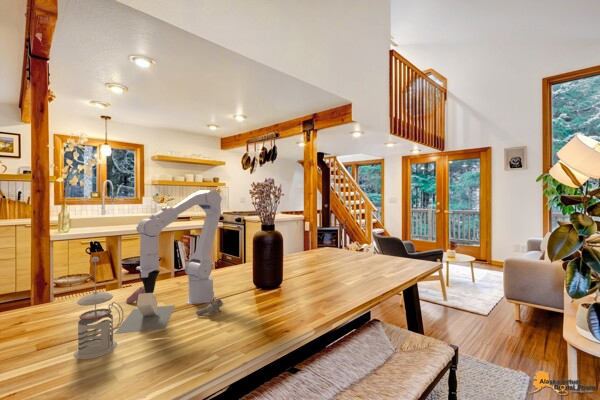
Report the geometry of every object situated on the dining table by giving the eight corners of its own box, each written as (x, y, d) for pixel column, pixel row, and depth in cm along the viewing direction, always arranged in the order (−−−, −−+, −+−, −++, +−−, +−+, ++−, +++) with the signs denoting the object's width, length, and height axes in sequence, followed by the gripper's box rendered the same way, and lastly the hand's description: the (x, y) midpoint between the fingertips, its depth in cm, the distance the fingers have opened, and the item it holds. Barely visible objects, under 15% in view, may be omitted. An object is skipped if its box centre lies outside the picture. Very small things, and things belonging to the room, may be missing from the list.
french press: (88, 341, 84) (87, 253, 84) (130, 339, 85) (130, 252, 85) (63, 360, 74) (62, 261, 74) (112, 358, 75) (111, 260, 75)
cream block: (157, 303, 104) (152, 292, 96) (156, 314, 101) (150, 305, 94) (144, 304, 103) (138, 293, 95) (143, 316, 100) (136, 306, 93)
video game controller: (133, 309, 112) (140, 293, 111) (124, 302, 113) (131, 287, 112) (151, 300, 122) (157, 285, 121) (142, 294, 123) (149, 279, 122)
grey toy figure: (201, 311, 106) (225, 301, 108) (204, 327, 103) (228, 316, 104) (189, 301, 99) (215, 290, 100) (191, 318, 95) (218, 307, 96)
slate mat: (175, 306, 110) (175, 305, 110) (165, 329, 91) (165, 328, 91) (133, 310, 107) (133, 309, 107) (114, 335, 87) (114, 333, 87)
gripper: (142, 250, 107) (142, 287, 107) (130, 258, 93) (130, 301, 93) (163, 249, 109) (163, 286, 109) (154, 257, 95) (154, 299, 95)
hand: (149, 293), depth 101 cm, fingers closed
